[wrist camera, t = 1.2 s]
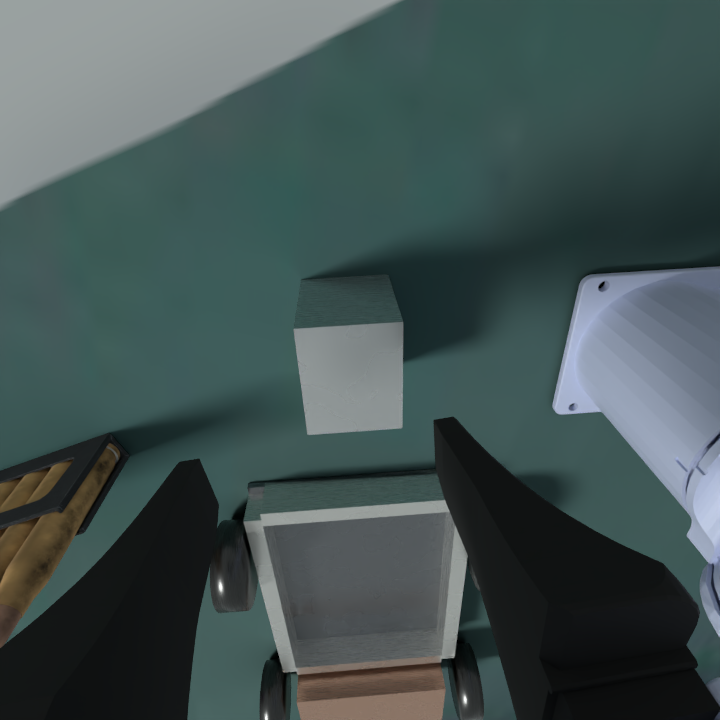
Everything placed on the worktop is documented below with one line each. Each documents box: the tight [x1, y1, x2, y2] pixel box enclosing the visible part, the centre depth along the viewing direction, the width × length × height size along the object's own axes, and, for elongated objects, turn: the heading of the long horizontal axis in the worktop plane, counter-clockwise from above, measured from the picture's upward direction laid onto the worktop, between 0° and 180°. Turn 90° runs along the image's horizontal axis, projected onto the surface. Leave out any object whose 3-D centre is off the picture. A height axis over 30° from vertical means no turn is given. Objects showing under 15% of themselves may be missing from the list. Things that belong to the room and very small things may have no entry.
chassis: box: [210, 469, 484, 720], centre depth 31 cm, size 17×24×5 cm
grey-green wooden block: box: [294, 274, 403, 435], centre depth 20 cm, size 4×5×5 cm
